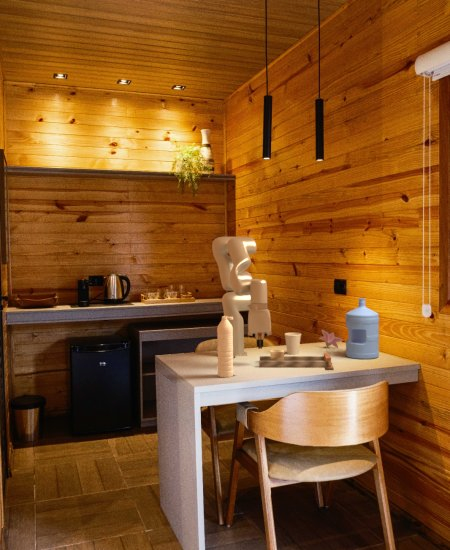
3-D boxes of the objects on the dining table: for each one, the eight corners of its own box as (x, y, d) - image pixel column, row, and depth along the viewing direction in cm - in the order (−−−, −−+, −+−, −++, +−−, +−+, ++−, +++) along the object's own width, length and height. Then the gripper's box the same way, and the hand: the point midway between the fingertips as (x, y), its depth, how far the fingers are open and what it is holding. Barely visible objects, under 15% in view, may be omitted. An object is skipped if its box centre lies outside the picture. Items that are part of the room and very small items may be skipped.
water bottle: (215, 375, 235) (214, 315, 234) (228, 373, 238) (227, 314, 237) (225, 379, 227) (224, 318, 226) (239, 377, 231) (238, 316, 229)
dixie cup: (303, 352, 283) (303, 333, 282) (298, 355, 275) (297, 335, 275) (288, 351, 287) (287, 332, 286) (282, 354, 279) (281, 334, 279)
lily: (344, 352, 289) (346, 334, 293) (326, 344, 285) (329, 327, 289) (329, 355, 299) (331, 338, 303) (312, 348, 295) (314, 331, 299)
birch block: (270, 365, 248) (270, 352, 248) (270, 362, 254) (270, 349, 254) (284, 365, 248) (284, 352, 247) (284, 362, 254) (283, 349, 253)
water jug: (367, 352, 281) (367, 296, 280) (385, 358, 266) (385, 299, 265) (339, 354, 276) (339, 298, 275) (356, 360, 261) (356, 300, 260)
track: (259, 369, 245) (259, 358, 244) (259, 363, 259) (259, 352, 258) (333, 369, 242) (333, 358, 242) (330, 363, 256) (330, 352, 256)
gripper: (241, 308, 247) (242, 349, 247) (275, 307, 246) (277, 349, 246) (242, 307, 255) (243, 347, 255) (275, 306, 253) (276, 346, 253)
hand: (260, 348), depth 250 cm, fingers closed
